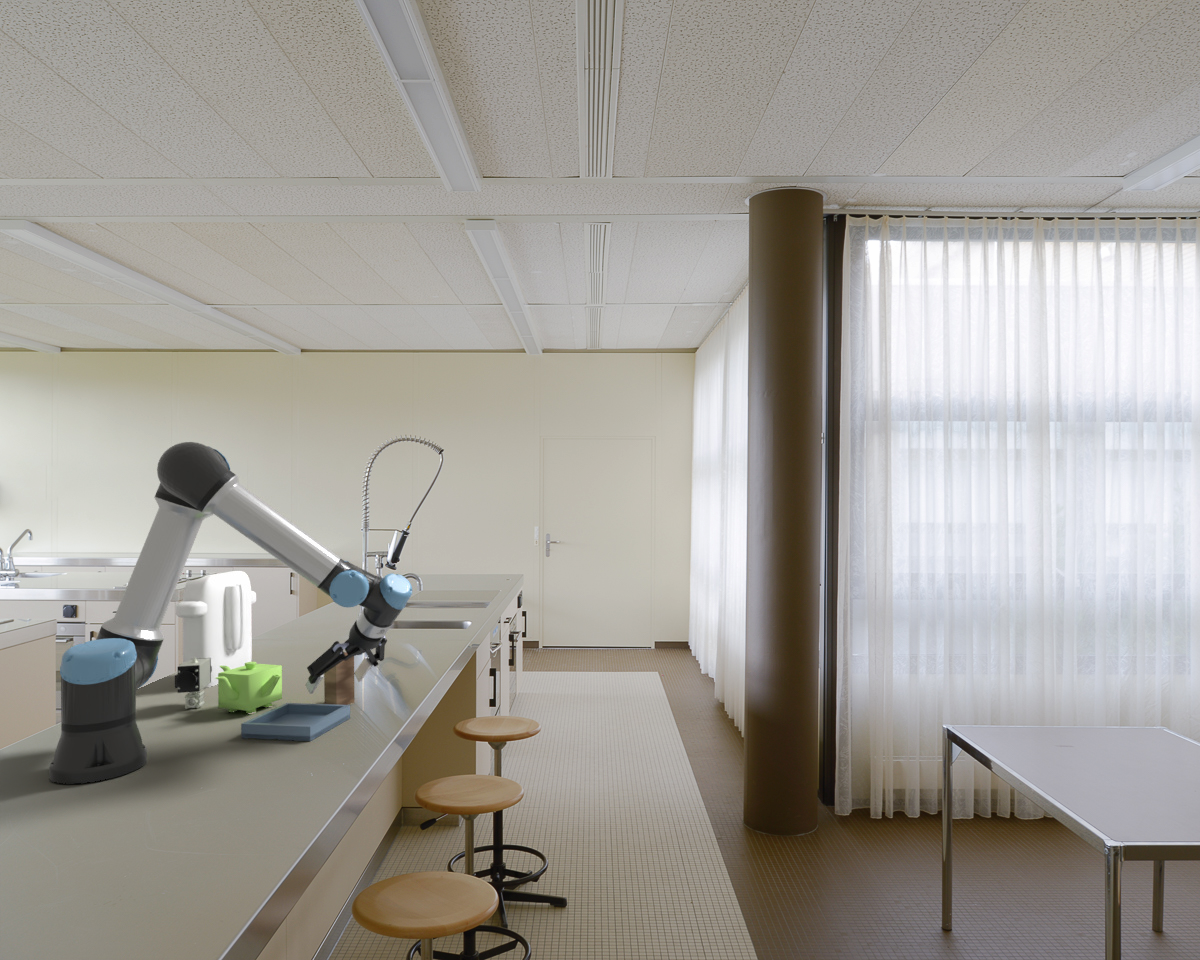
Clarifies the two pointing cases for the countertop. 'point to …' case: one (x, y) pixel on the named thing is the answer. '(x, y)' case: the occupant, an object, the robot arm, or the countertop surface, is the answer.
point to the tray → (296, 721)
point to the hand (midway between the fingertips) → (333, 683)
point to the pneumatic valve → (193, 680)
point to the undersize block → (340, 683)
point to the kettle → (249, 686)
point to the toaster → (218, 620)
